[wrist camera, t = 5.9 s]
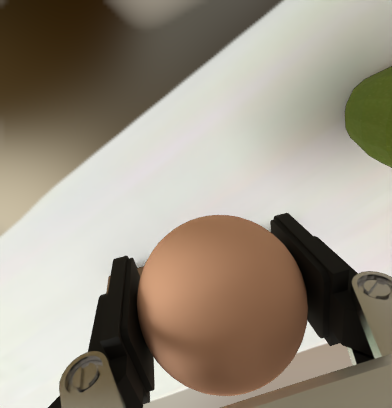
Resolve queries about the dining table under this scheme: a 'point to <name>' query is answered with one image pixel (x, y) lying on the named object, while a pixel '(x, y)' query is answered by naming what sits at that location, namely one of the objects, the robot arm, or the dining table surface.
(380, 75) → the apple
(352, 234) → the dining table surface
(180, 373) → the ball
